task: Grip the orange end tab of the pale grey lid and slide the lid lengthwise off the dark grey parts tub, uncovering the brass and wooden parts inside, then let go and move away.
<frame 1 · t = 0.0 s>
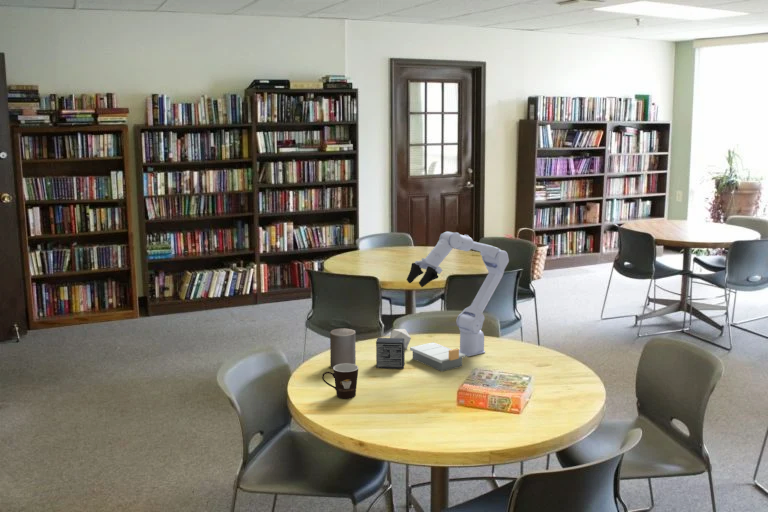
hand: (414, 283, 282), 32 cm above the table, tool tilted 50°, fingers open, 7 cm apart
lid: (437, 348, 290), point 6 cm above the table, slide at 0.0 cm
die: (399, 348, 309), on the table
tub: (436, 362, 291), on the table
pillar candle: (343, 367, 287), on the table
small box: (390, 366, 288), on the table
coffee mug: (342, 395, 258), on the table
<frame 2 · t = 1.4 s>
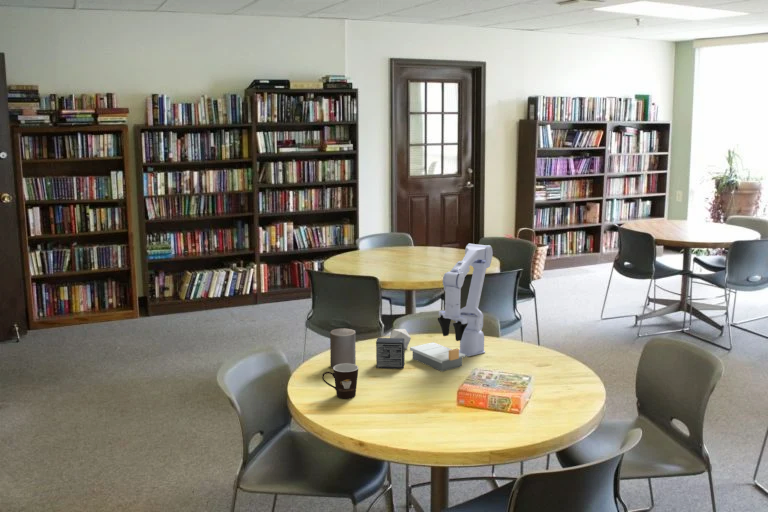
hand: (452, 338, 287), 10 cm above the table, tool pointing down, fingers open, 7 cm apart
nothing on the table moved.
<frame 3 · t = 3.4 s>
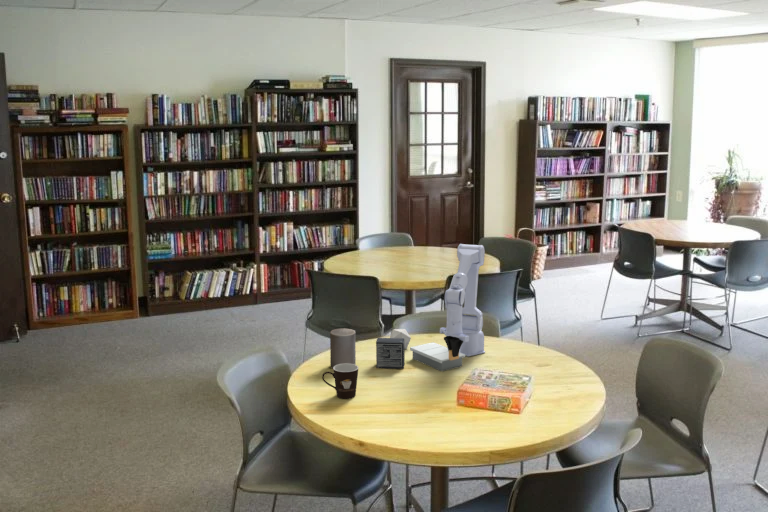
hand: (453, 355, 282), 5 cm above the table, tool pointing down, fingers closed on lid
lid: (437, 348, 290), point 6 cm above the table, slide at 0.0 cm, touching gripper
everything else where it was.
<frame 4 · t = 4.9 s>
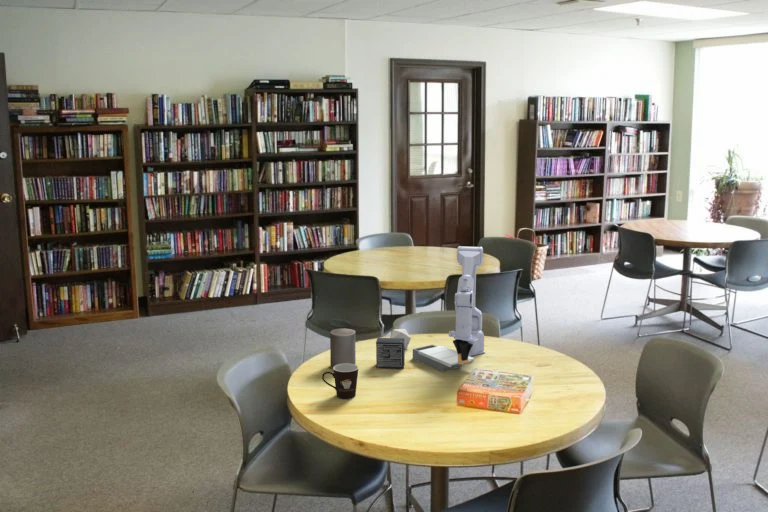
hand: (463, 359, 278), 5 cm above the table, tool pointing down, fingers closed on lid
lid: (446, 352, 286), point 6 cm above the table, slide at 5.3 cm, touching gripper
everything else where it was.
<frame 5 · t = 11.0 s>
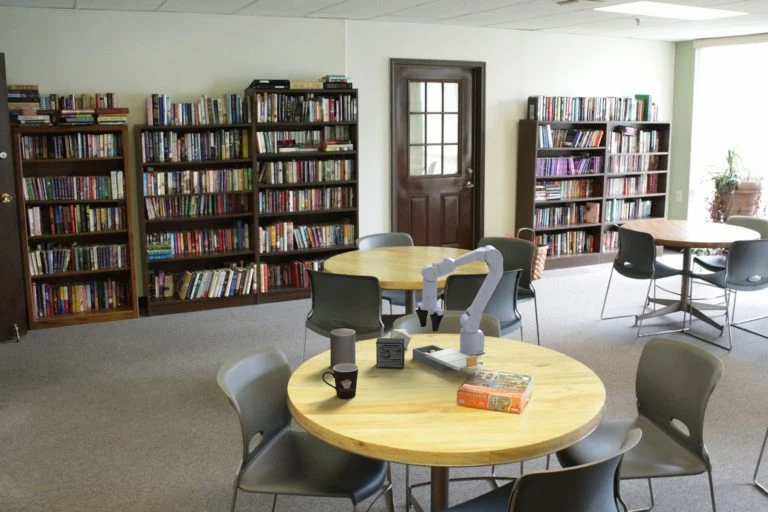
hand: (429, 328, 300), 10 cm above the table, tool pointing down, fingers open, 7 cm apart
lid: (454, 355, 282), point 6 cm above the table, slide at 10.0 cm
everything else where it was.
at the end: lid slide at 10.0 cm; the gripper is holding nothing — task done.
